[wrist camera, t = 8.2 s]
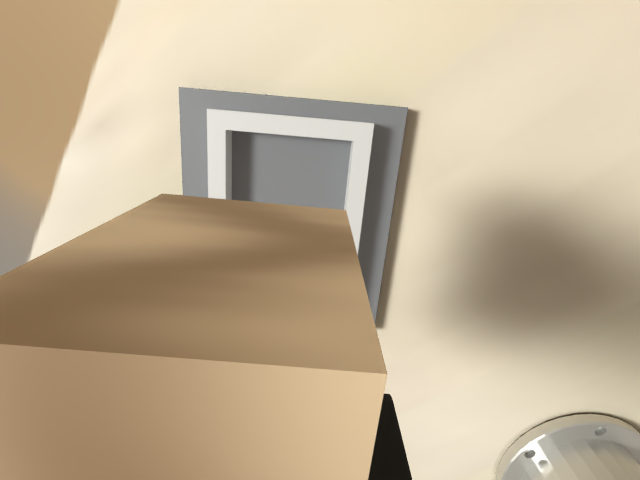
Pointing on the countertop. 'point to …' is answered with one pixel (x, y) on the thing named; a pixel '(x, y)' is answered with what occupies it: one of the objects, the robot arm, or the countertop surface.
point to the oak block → (192, 349)
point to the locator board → (298, 159)
